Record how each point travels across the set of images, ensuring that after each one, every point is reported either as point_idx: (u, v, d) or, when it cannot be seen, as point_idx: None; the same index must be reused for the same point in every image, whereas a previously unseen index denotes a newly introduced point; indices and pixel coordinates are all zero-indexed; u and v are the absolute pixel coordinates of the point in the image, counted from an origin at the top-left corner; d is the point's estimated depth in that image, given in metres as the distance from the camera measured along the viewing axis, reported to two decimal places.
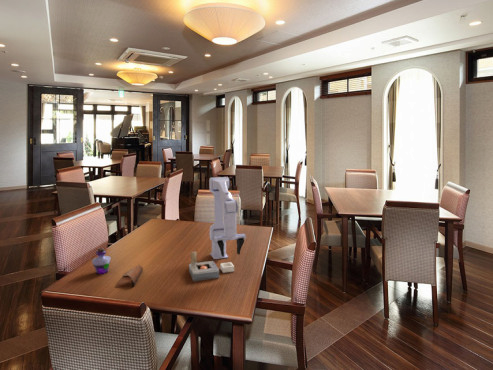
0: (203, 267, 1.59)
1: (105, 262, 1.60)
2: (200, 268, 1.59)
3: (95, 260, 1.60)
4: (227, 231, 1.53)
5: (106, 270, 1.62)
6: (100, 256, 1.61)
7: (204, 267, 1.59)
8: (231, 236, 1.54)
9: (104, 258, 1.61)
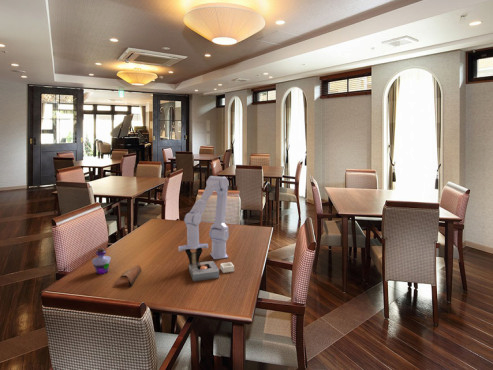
0: (203, 267, 1.59)
1: (105, 262, 1.60)
2: (200, 268, 1.59)
3: (95, 260, 1.60)
4: (190, 241, 1.64)
5: (106, 270, 1.62)
6: (100, 256, 1.61)
7: (204, 267, 1.59)
8: (194, 245, 1.64)
9: (104, 258, 1.61)
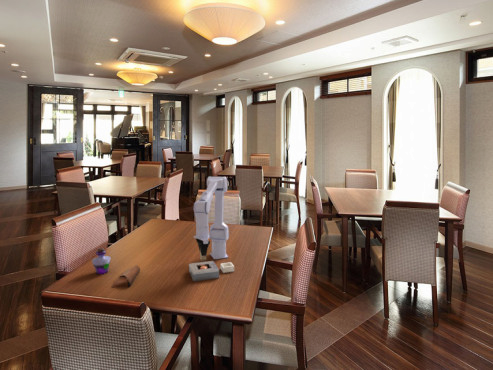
0: (203, 267, 1.59)
1: (105, 262, 1.60)
2: (200, 268, 1.59)
3: (95, 260, 1.60)
4: None
5: (106, 270, 1.62)
6: (100, 256, 1.61)
7: (204, 267, 1.59)
8: (196, 234, 1.57)
9: (104, 258, 1.61)
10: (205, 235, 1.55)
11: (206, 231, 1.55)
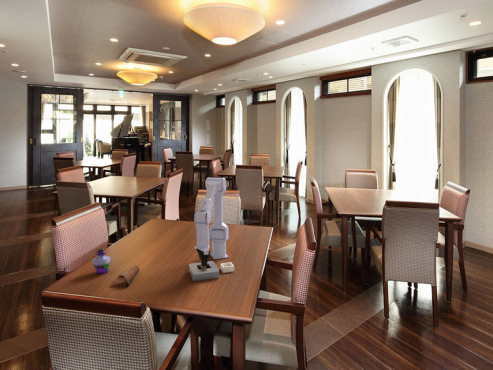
0: None
1: (105, 262, 1.60)
2: None
3: (95, 260, 1.60)
4: None
5: (106, 270, 1.62)
6: (100, 256, 1.61)
7: None
8: (197, 245, 1.57)
9: (104, 258, 1.61)
10: (205, 246, 1.56)
11: (206, 242, 1.56)
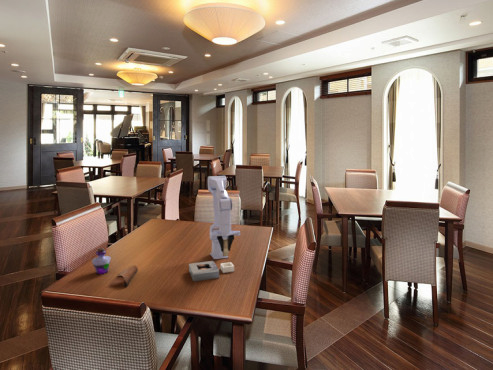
0: None
1: (105, 262, 1.60)
2: None
3: (95, 260, 1.60)
4: (222, 228, 1.60)
5: (106, 270, 1.62)
6: (100, 256, 1.61)
7: None
8: (226, 232, 1.60)
9: (104, 258, 1.61)
10: None
11: None
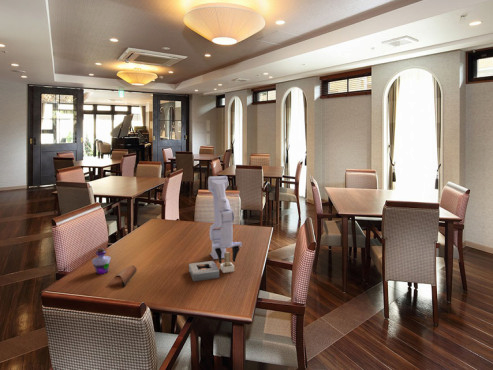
0: None
1: (105, 262, 1.60)
2: None
3: (95, 260, 1.60)
4: (224, 240, 1.61)
5: (106, 270, 1.62)
6: (100, 256, 1.61)
7: None
8: (228, 244, 1.61)
9: (104, 258, 1.61)
10: None
11: None
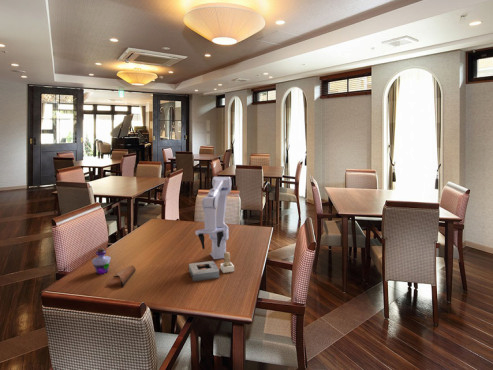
0: None
1: (105, 262, 1.60)
2: None
3: (95, 260, 1.60)
4: (207, 225, 1.63)
5: (106, 270, 1.62)
6: (100, 256, 1.61)
7: None
8: (211, 229, 1.64)
9: (104, 258, 1.61)
10: None
11: None
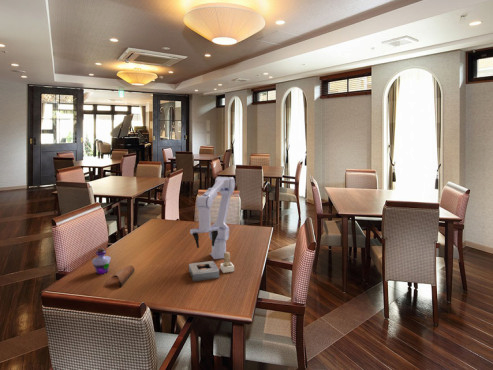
0: None
1: (105, 262, 1.60)
2: None
3: (95, 260, 1.60)
4: (202, 224, 1.65)
5: (106, 270, 1.62)
6: (100, 256, 1.61)
7: None
8: (205, 228, 1.65)
9: (104, 258, 1.61)
10: None
11: None
